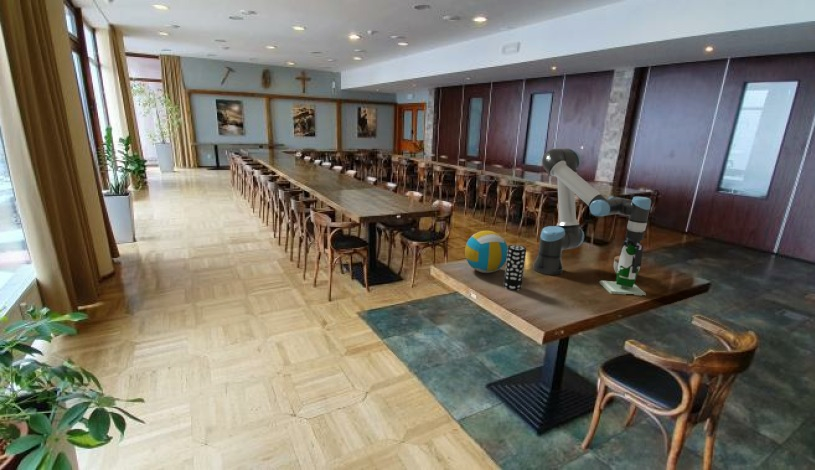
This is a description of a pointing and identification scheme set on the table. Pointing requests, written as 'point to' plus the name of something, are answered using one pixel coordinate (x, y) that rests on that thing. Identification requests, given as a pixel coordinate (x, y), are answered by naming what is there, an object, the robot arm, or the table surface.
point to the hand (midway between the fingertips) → (626, 275)
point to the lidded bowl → (616, 262)
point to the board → (621, 288)
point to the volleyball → (486, 251)
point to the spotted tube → (514, 267)
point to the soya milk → (626, 266)
